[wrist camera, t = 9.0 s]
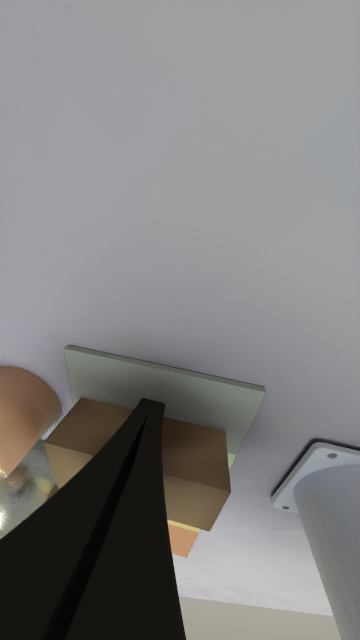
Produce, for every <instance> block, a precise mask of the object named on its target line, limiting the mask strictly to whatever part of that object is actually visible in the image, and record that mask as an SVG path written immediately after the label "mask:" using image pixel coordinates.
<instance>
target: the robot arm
mask: <svg viewBox="0 0 360 640" xmlns="http://www.w3.org/2000/svg"><path fill="white" fill-rule="evenodd" d="M164 411H165V404H164V403H163V402H159V401H154V400H150V399H146V398H142V399H141V400H140V401H139V403H138V404H137V406H136V407H135V409H134V410H133V411H132V413H131V414H130V415H129V417H128V418H127V419H126V420H125V422H124V423H123V424H122V425H121V426H120V428H119V429H118V430H117V431H116V432H115V434H114V435H113V436H112V437H111V438H110V439H109V440H108V441H107V443H106V444H105V445H104V446H103V447H102V448H101V449H100V450H99V451H98V452H97V453H96V454H95V455H94V457H93V458H92V459H91V460H90V461H89V462H88V463H87V464H86V465H85V466H84V467H83V468H82V469H81V470H80V471H79V472H77V473H76V474H75V475H74V476H73V477H72V478H71V479H70V480H69V481H68V482H67V483H66V484H65V485H64V486H62V487H61V488H60V489H59V490H58V491H57V492H56V493H55V494H54V495H53V496H51V497H50V498H49V499H48V500H47V501H46V502H45V503H43V504H42V505H41V506H40V507H39V508H37V509H36V510H35V511H34V512H33V513H32V514H30V515H29V516H28V517H27V518H26V519H24V520H23V521H22V522H21V523H20V524H19V525H17V526H16V527H15V528H14V529H12V530H11V531H10V532H9V533H8V534H6V535H5V536H4V537H2V538H1V539H0V640H186V637H185V631H184V625H183V620H182V614H181V608H180V603H179V596H178V590H177V584H176V578H175V571H174V565H173V558H172V551H171V543H170V536H169V528H168V521H167V512H166V503H165V493H164V481H163V465H162V424H163V417H164ZM271 503H272V506H273V507H275V508H277V509H280V510H284V511H288V512H291V513H295V514H299V515H300V518H301V521H302V524H303V527H304V529H305V532H306V535H307V538H308V541H309V544H310V547H311V550H312V553H313V556H314V559H315V562H316V565H317V568H318V571H319V574H320V577H321V580H322V583H323V586H324V589H325V592H326V595H327V597H328V600H329V603H330V606H331V609H332V612H333V615H334V618H335V621H336V624H337V627H338V630H339V633H340V636H341V639H342V640H360V451H358V450H353V449H349V448H345V447H341V446H336V445H332V444H328V443H323V442H317V443H314V444H313V445H312V446H311V447H310V448H309V450H308V451H307V452H306V454H305V455H304V456H303V457H302V459H301V460H300V461H299V463H298V464H297V465H296V466H295V468H294V469H293V470H292V472H291V473H290V474H289V476H288V477H287V478H286V479H285V481H284V482H283V483H282V485H281V486H280V487H279V489H278V490H277V491H276V492H275V494H274V495H273V496H272V498H271Z"/></svg>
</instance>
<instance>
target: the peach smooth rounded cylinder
mask: <svg viewBox="0 0 360 640" xmlns="http://www.w3.org/2000/svg"><path fill="white" fill-rule="evenodd" d="M60 415H61V404H60V401H59V398H58V397H57V395H56V393H55V392H54V391H53V390H52V388H51V387H50V386H49V385H48V384H47V383H46V382H44V381H43V380H42V379H40V378H39V377H38V376H36V375H34V374H33V373H31V372H29V371H27V370H24V369H21V368H18V367H13V366H2V367H0V480H1V479H5V478H7V477H8V476H9V474H10V473H11V472H12V471H13V470H14V469H15V468H16V466H17V465H18V464H19V463H20V462H21V461H22V459H23V458H24V457H25V456H26V455H27V454H28V452H29V451H30V450H31V449H32V448H33V447H34V446H35V444H36V443H37V442H38V441H39V440H40V439H41V437H42V436H43V435H44V434H45V433H46V432H47V431H48V429H49V428H50V427H51V426H52V425H53V424H54V422H55V421H56V420H57V419H58V418H59V417H60Z"/></svg>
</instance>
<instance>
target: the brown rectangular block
mask: <svg viewBox="0 0 360 640" xmlns="http://www.w3.org/2000/svg"><path fill="white" fill-rule="evenodd" d="M132 411H133V409H129V408H124V407H120V406H116V405H112V404H108V403H103V402H99V401H95V400H91V399H86V398H82V397H81V398H80V399H79V400H78V402H77V403H76V404H75V405H74V406H73V408H72V409H71V410H70V411H69V412H68V414H67V415H66V416H65V417H64V418H63V420H62V421H61V422H60V423H59V424H58V425H57V427H56V428H55V429H54V430H53V431H52V433H51V434H50V435H49V436H48V437H47V439H46V440H45V441H44V446H45V449H46V452H47V455H48V458H49V461H50V464H51V467H52V470H53V474H54V477H55V480H56V483H57V486H58V488H59V489H60V488H61V487H62V486H64V485H65V484H66V483H67V482H68V481H69V480H70V479H71V478H72V477H73V476H74V475H75V474H76V473H77V472H79V471H80V470H81V469H82V468H83V467H84V466H85V465H86V464H87V463H88V462H89V461H90V460H91V459H92V458H93V457H94V455H95V454H96V453H97V452H98V451H99V450H100V449H101V448H102V447H103V446H104V445H105V444H106V443H107V441H108V440H109V439H110V438H111V437H112V436H113V435H114V434H115V432H116V431H117V430H118V429H119V428H120V426H121V425H122V424H123V423H124V422H125V420H126V419H127V418H128V417H129V415H130V414H131V413H132ZM162 465H163V481H164V493H165V503H166V512H167V520H171V521H174V522H178V523H181V524H185V525H188V526H192V527H195V528H199V529H202V530H206V531H209V532H210V530H211V528H212V526H213V524H214V523H215V521H216V519H217V517H218V515H219V513H220V511H221V510H222V508H223V506H224V504H225V502H226V500H227V498H228V497H229V495H230V493H231V487H230V476H229V465H228V454H227V443H226V433H225V431H221V430H217V429H213V428H208V427H204V426H200V425H196V424H192V423H187V422H183V421H179V420H175V419H171V418H166V417H163V424H162Z"/></svg>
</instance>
